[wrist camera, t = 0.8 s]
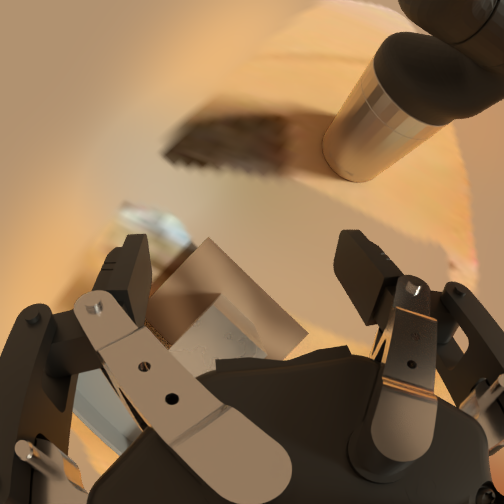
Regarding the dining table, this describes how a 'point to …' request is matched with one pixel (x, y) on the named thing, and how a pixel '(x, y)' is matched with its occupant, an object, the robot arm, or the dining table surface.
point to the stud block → (207, 291)
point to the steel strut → (217, 338)
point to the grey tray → (104, 411)
